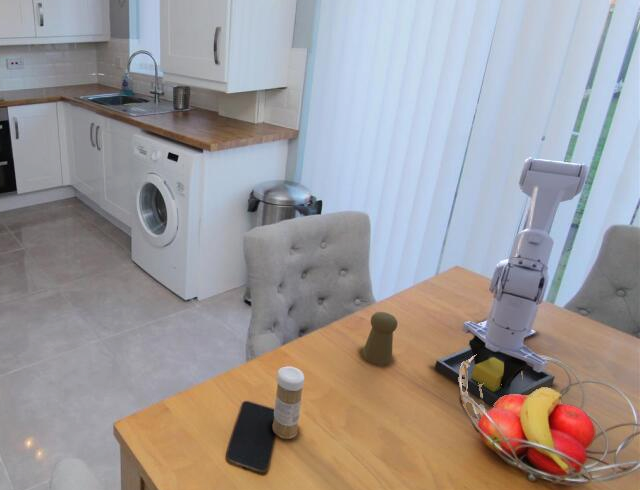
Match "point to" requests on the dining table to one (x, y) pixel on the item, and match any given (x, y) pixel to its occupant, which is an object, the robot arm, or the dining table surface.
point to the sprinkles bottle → (288, 402)
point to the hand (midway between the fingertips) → (491, 378)
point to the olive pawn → (380, 339)
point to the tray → (519, 386)
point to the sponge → (489, 374)
